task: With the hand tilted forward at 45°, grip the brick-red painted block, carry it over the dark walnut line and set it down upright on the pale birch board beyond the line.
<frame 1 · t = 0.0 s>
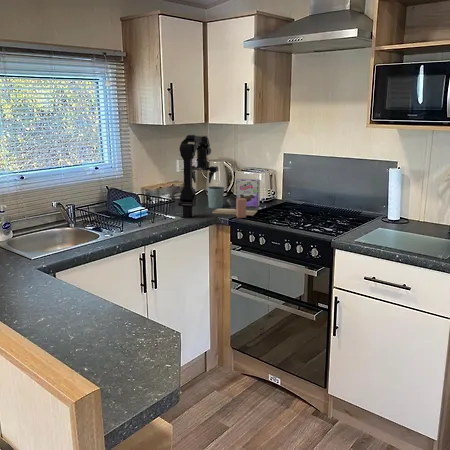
hand: (202, 183, 287), 15 cm above the counter, tool pointing down, fingers open, 9 cm apart
candy box: (247, 206, 293), on the counter
teal cup: (216, 207, 290), on the counter
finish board: (235, 212, 274), on the counter
painted block: (241, 216, 263), on the counter
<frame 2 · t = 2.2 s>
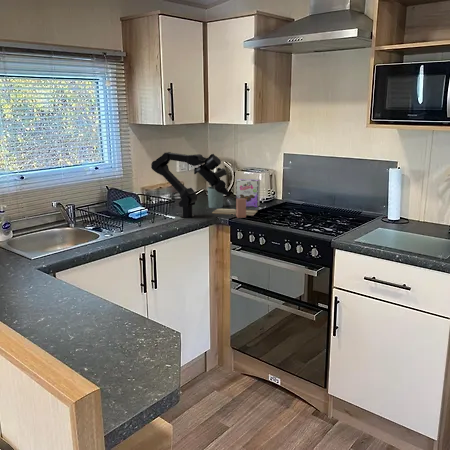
hand: (227, 194, 259), 13 cm above the counter, tool tilted 45°, fingers open, 9 cm apart
nothing on the counter moved.
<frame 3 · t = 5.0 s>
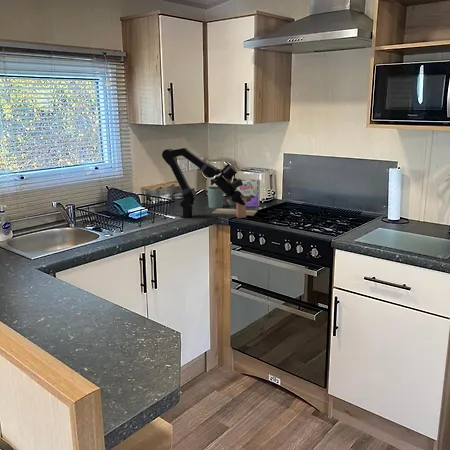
hand: (243, 204, 261), 7 cm above the counter, tool tilted 45°, fingers closed on painted block, 4 cm apart
painted block: (241, 216, 263), on the counter, touching gripper
everything else where it was.
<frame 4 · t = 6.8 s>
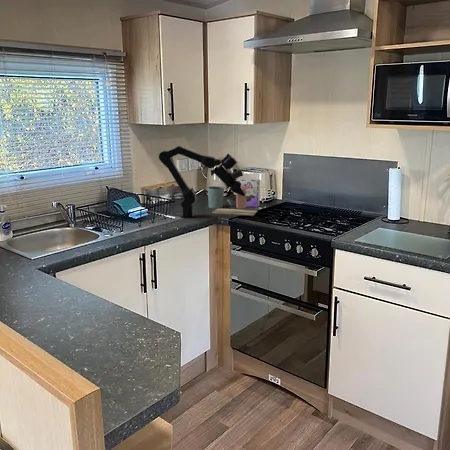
hand: (243, 194, 262), 12 cm above the counter, tool tilted 45°, fingers closed on painted block, 4 cm apart
painted block: (240, 207, 264), point 5 cm above the counter, touching gripper
everything else where it was.
when the fingers open (9 cm above the counter, at t = 8.8 s): painted block stays where it is, resting on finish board.
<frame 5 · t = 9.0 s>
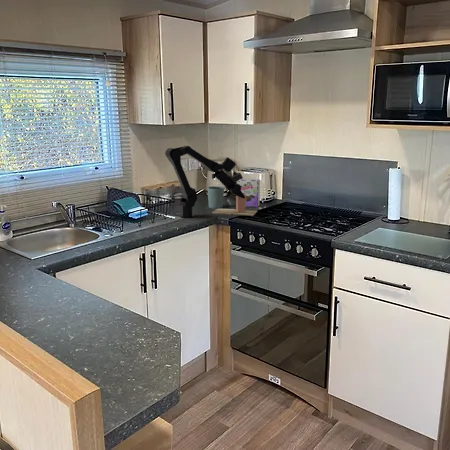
hand: (243, 196, 273), 9 cm above the counter, tool tilted 45°, fingers open, 7 cm apart
painted block: (240, 210, 275), point 1 cm above the counter, touching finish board
everything else where it was.
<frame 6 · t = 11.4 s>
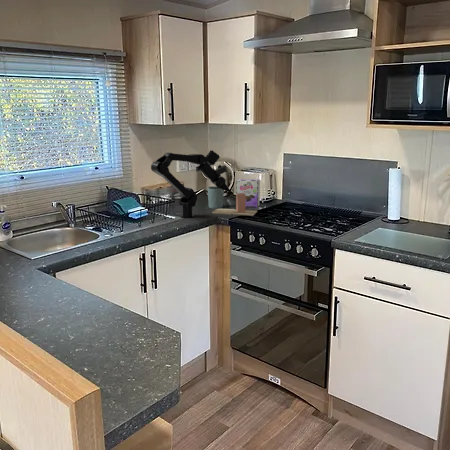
hand: (227, 190, 271), 13 cm above the counter, tool tilted 45°, fingers open, 9 cm apart
nothing on the counter moved.
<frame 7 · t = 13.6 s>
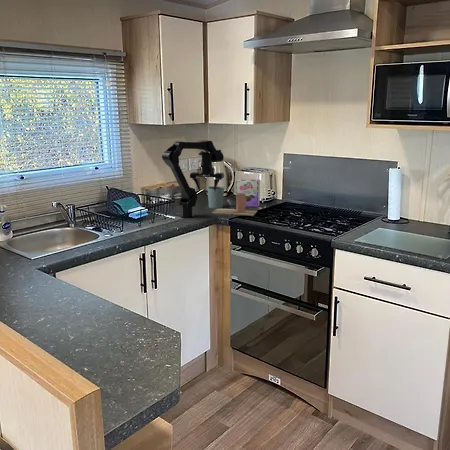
hand: (207, 190, 270), 13 cm above the counter, tool pointing down, fingers open, 9 cm apart
nothing on the counter moved.
at the end: painted block inside the target area (0.8 cm from its centre), point 0.6 cm above the counter; painted block tilted 0°; the gripper is holding nothing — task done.
